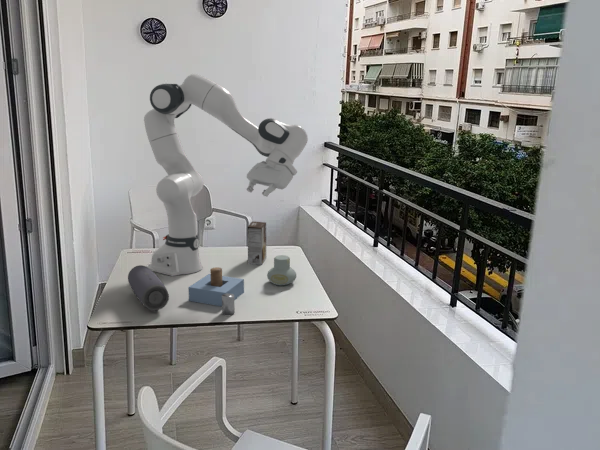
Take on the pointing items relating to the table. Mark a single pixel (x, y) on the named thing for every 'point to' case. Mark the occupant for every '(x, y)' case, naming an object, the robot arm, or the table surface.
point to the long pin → (216, 276)
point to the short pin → (228, 304)
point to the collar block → (215, 290)
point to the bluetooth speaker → (148, 288)
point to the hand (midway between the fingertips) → (256, 193)
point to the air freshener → (281, 271)
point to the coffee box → (256, 243)
